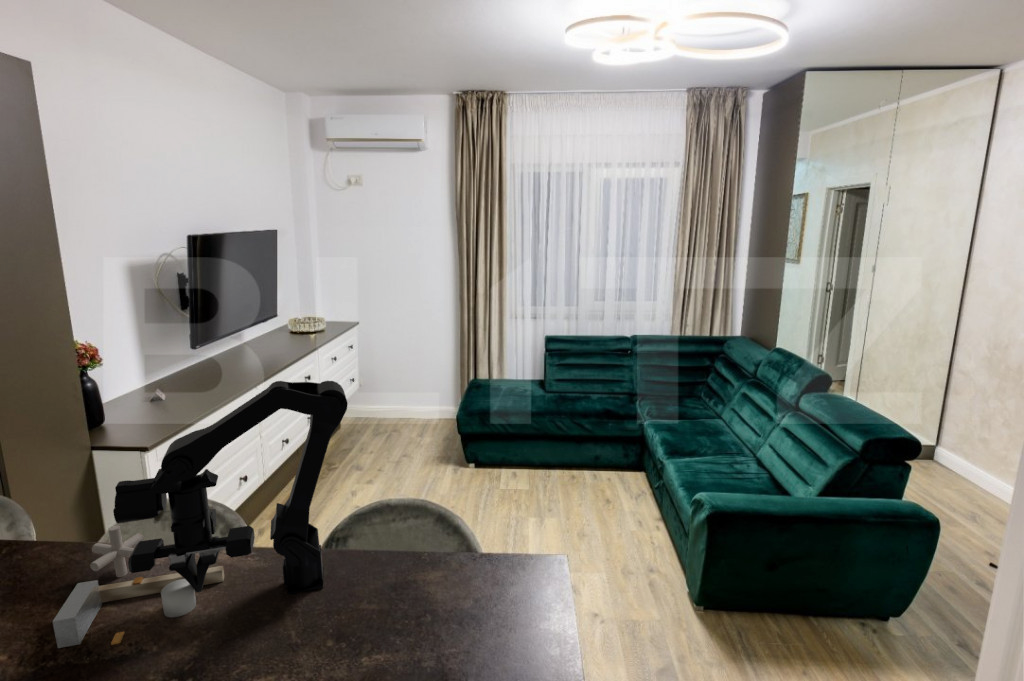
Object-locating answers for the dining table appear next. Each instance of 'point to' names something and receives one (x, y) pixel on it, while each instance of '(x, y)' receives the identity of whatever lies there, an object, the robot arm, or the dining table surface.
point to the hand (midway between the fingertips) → (199, 590)
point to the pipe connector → (115, 551)
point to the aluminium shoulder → (77, 614)
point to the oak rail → (151, 585)
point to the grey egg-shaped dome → (178, 598)
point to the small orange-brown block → (117, 638)
